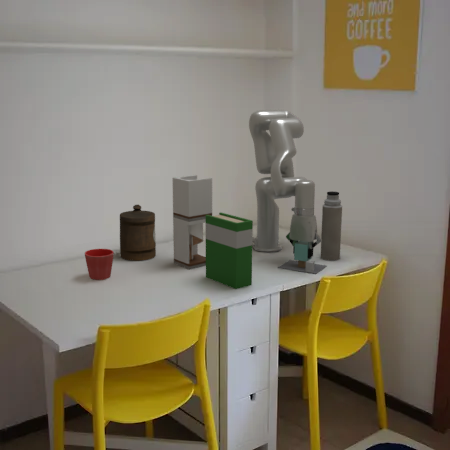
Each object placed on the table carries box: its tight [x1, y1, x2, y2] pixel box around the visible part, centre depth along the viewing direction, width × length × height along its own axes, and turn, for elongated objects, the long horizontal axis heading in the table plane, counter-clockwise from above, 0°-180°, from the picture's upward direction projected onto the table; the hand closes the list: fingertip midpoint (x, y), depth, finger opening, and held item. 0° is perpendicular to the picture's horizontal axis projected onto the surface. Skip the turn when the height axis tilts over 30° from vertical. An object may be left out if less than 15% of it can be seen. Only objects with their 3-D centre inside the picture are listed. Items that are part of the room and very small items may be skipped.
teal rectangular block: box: [293, 241, 313, 262], centre depth 248 cm, size 5×5×7 cm
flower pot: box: [84, 248, 115, 281], centre depth 235 cm, size 11×11×10 cm
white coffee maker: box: [172, 174, 213, 270], centre depth 250 cm, size 11×11×35 cm
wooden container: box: [119, 204, 157, 262], centre depth 262 cm, size 15×15×22 cm
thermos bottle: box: [320, 191, 343, 262], centre depth 260 cm, size 8×8×28 cm
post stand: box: [277, 259, 327, 275], centre depth 249 cm, size 16×12×7 cm
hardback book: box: [205, 212, 254, 290], centre depth 230 cm, size 18×7×24 cm, turn 40°
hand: (303, 256), depth 249 cm, fingers closed on teal rectangular block, 5 cm apart
